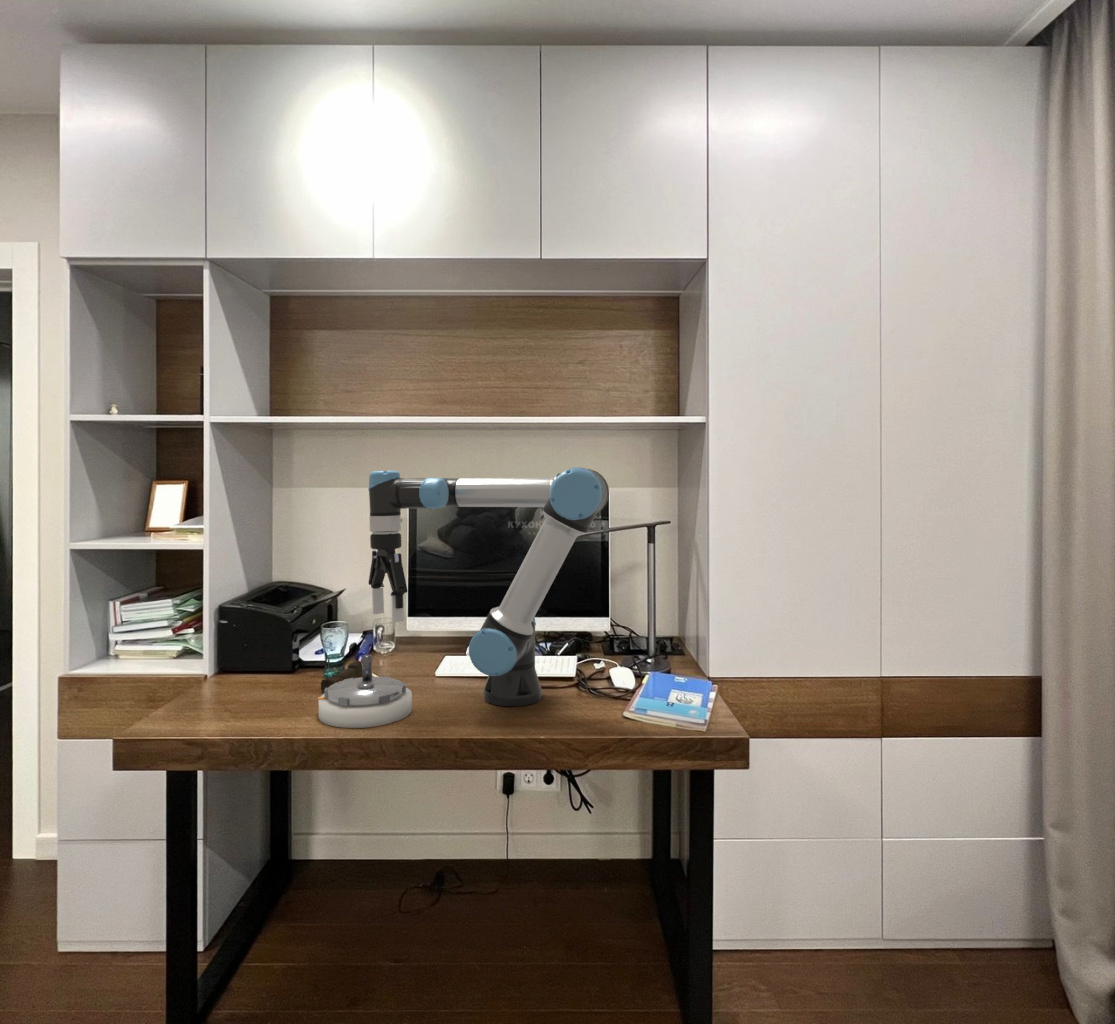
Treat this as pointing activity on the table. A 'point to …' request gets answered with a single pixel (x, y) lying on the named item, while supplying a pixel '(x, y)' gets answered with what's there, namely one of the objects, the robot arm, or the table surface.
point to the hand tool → (343, 675)
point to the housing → (365, 713)
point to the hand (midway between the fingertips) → (387, 617)
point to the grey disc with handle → (365, 688)
